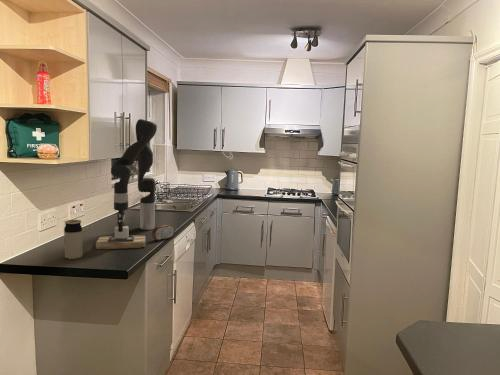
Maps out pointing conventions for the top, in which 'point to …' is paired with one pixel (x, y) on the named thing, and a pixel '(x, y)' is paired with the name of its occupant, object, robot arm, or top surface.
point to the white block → (122, 234)
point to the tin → (163, 232)
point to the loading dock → (120, 242)
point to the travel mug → (73, 239)
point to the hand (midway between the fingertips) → (121, 229)
